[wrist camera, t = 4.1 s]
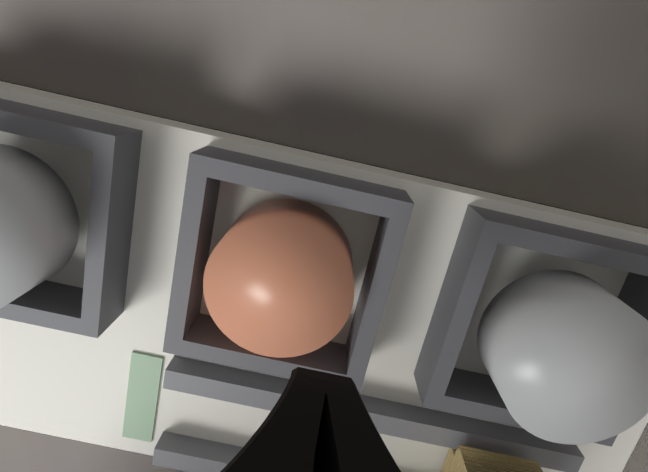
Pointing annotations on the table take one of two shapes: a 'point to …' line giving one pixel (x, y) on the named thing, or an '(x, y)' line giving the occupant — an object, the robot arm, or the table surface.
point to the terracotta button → (281, 279)
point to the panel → (245, 366)
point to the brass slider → (485, 461)
